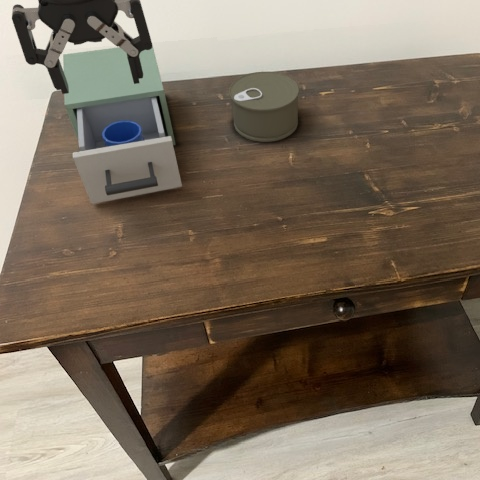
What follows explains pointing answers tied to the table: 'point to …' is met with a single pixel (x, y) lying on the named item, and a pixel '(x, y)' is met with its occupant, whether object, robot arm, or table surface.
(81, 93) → the mint green cabinet box
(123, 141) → the cup
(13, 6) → the robot arm
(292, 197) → the table surface
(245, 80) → the can
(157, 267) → the table surface
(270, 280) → the table surface
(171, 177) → the drawer
